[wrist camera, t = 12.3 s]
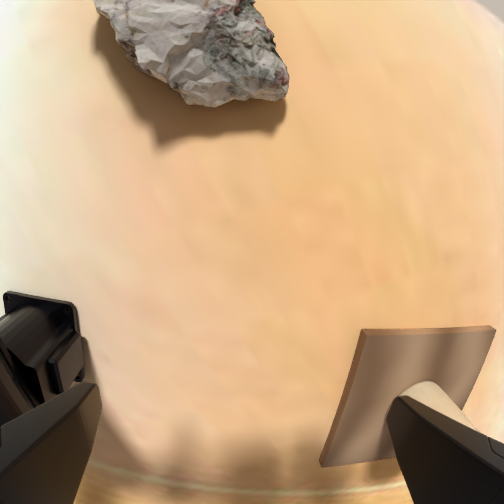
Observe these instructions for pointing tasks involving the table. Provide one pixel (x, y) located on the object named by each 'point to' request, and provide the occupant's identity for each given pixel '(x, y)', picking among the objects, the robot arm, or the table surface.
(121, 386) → the table surface
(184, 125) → the table surface
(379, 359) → the walnut slab
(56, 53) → the table surface
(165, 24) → the mineral rock
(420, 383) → the candle
